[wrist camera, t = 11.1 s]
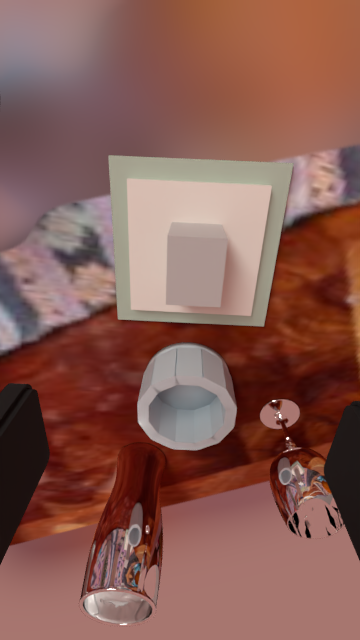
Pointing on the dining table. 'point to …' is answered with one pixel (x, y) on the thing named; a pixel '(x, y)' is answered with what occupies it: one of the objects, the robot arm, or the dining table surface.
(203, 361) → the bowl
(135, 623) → the beer glass
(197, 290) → the cover
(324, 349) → the dining table surface
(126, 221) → the mat
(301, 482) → the wineglass
